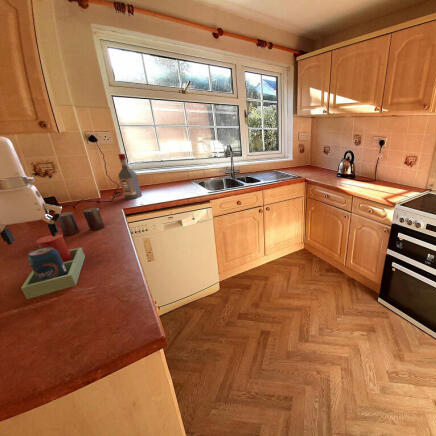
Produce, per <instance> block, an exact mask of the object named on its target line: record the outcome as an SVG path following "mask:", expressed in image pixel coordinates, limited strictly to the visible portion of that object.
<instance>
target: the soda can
mask: <svg viewBox="0 0 436 436" xmlns="http://www.w3.org/2000/svg"><path fill="white" fill-rule="evenodd" d="M27 255H28V256H27V261H28V264H29V266H30V267H31V269H32V270H33V272H34V274H35V276H36V278H37V279H38V281H39V282H41V281H45V280H49V279H53V278H56V277H60V276H64V275H68V273H67V270H66V268H65V266H64V264H63V262H62V259H61V257H60V255H59V253H58V251H57V250H56V249H54V248H53V247H52V246H46V247H41V248H39V247H38V248H35V249H33V250H31V251H29V252H28V253H27ZM32 270H31V271H32Z"/></svg>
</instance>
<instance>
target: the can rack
mask: <svg viewBox="0 0 436 436" xmlns="http://www.w3.org/2000/svg"><path fill="white" fill-rule="evenodd" d="M68 250H69V252H70V254H71V257H72V259H73V260H72V261H67V262H63V264H64V266H65V268H66V270H67V273H68V275H64V276H60V277H56V278H53V279H49V280H45V281H41V282H39V281H38V279H37V278H36V276H35V274H34V272H33V270H31V272H30V273H29V275H28V277H27V278H26V280H25V281H24V283H22V286H21V287H20V289H21V292H23V294H24V296H25V298H26V300H29V299H33V298H37V297H40V296H44V295H48V294H50V293H53V292H58V291H61V290H65V289H68V288H72V287H76V286H77V283H78V280H79V277H80V274H81V270H82V267H83V264H84V261H85V258H86V255H85V253H84V249H83V247H76V248H72V249H68Z"/></svg>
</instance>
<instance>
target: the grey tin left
mask: <svg viewBox="0 0 436 436" xmlns="http://www.w3.org/2000/svg"><path fill="white" fill-rule="evenodd" d="M56 221H57V222H58V225H59V226H60V229H61V232H62V235H63V237H71V236H75V235H78V234H79V233H80V232H81V231H80V228H79V225H78V223H77V221H76V218H75V216H74V213H73V212H72V211H65V212H61V214H60V216H59V218H58V219H57V220H56Z"/></svg>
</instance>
